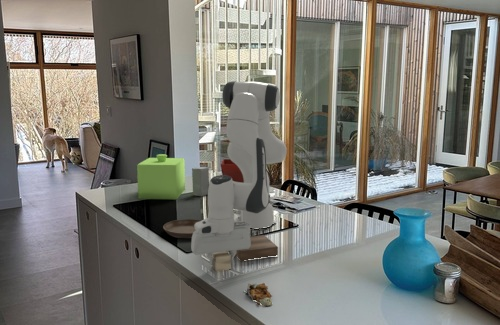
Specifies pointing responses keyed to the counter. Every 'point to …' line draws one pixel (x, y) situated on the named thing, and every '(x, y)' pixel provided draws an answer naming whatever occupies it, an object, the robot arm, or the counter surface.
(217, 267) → the maple cube
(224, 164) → the plant pot
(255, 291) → the pastry
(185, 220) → the plant saucer
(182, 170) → the canister
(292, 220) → the counter surface
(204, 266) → the counter surface
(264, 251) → the walnut base
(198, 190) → the skincare box
